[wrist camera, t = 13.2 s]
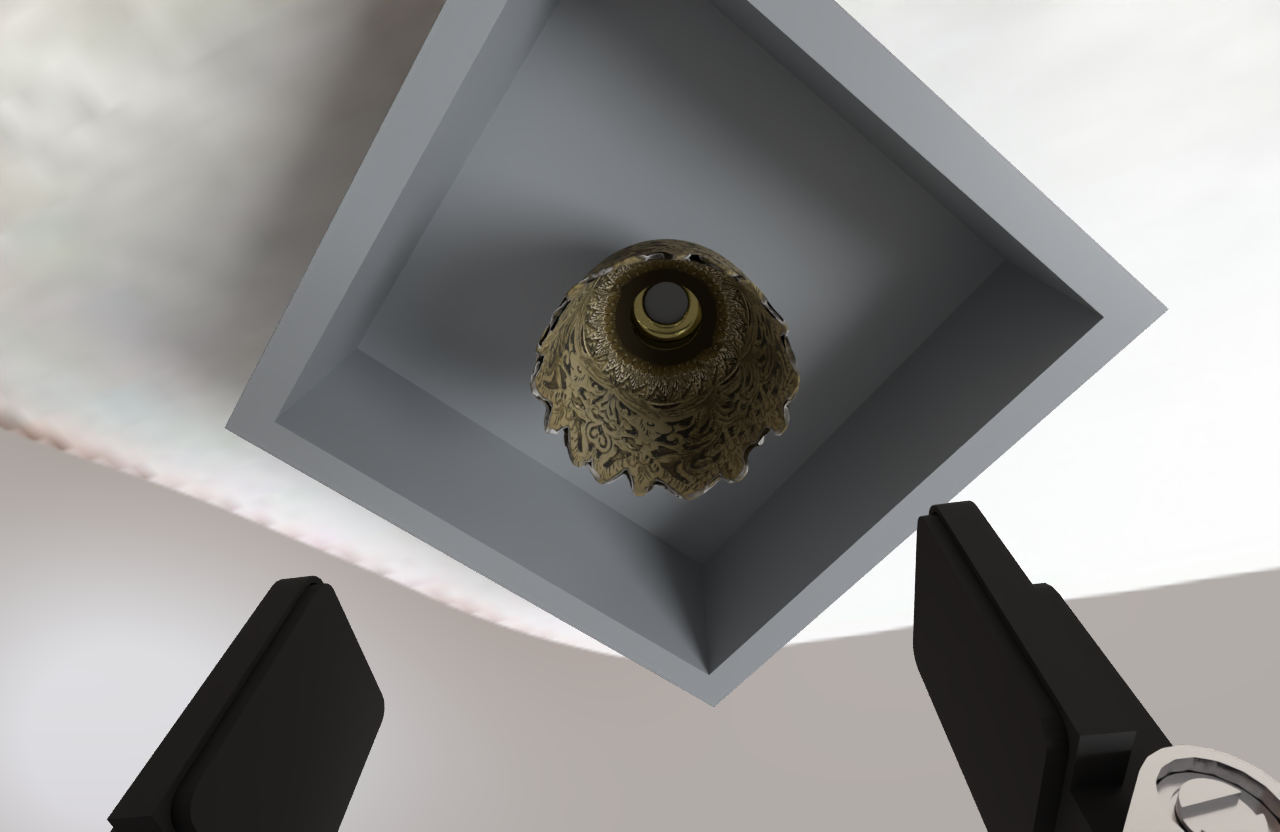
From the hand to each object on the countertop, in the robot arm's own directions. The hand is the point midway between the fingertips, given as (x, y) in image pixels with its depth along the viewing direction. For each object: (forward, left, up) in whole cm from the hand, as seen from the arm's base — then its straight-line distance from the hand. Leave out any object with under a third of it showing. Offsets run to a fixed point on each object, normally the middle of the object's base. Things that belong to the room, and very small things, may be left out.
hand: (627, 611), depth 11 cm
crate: (+1, 0, -18) cm, 18 cm away
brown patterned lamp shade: (+1, 0, -17) cm, 17 cm away
